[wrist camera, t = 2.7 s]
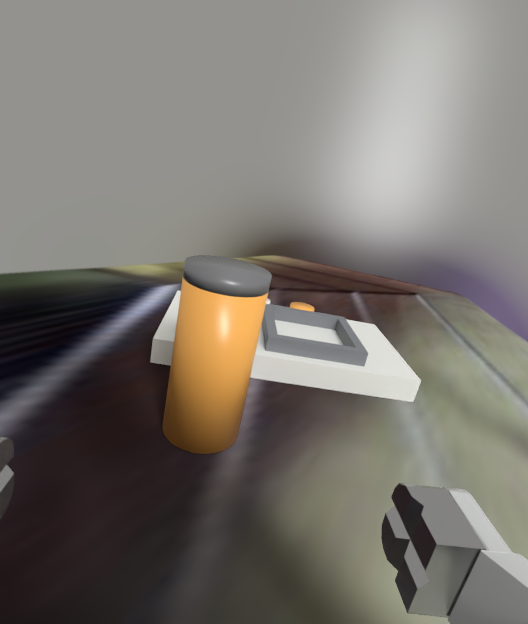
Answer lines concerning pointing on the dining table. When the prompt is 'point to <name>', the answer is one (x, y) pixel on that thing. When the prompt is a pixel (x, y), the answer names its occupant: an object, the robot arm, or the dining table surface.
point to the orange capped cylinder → (213, 351)
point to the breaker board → (314, 352)
